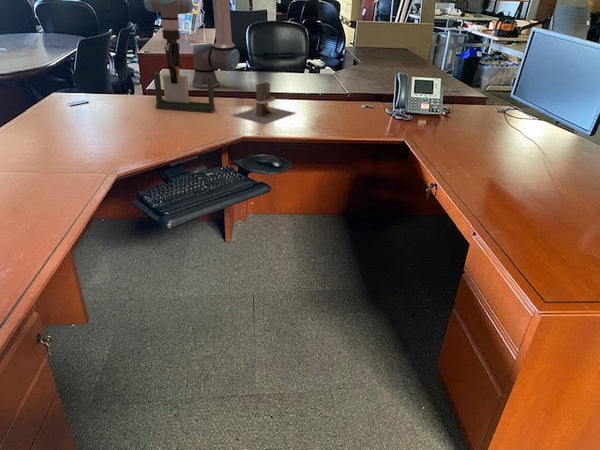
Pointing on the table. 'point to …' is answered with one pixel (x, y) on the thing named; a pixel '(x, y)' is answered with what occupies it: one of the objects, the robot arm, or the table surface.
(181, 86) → the window sash
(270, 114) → the architectural model
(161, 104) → the window frame
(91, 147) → the table surface
